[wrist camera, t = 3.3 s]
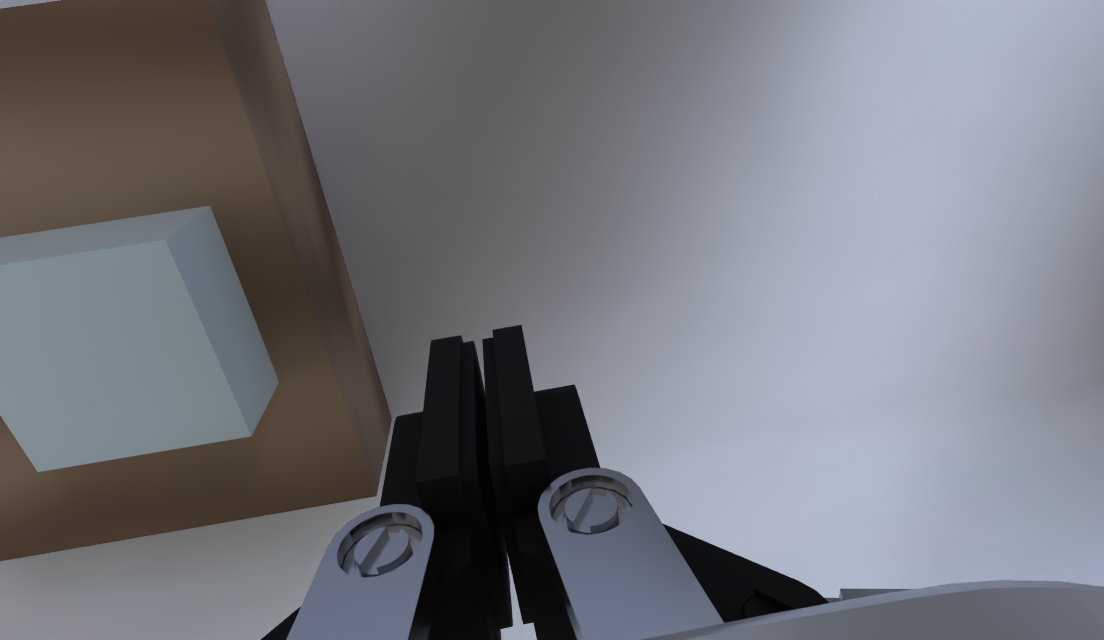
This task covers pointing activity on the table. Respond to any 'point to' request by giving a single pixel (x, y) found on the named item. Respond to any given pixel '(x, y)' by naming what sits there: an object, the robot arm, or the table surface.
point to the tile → (127, 340)
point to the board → (249, 235)
